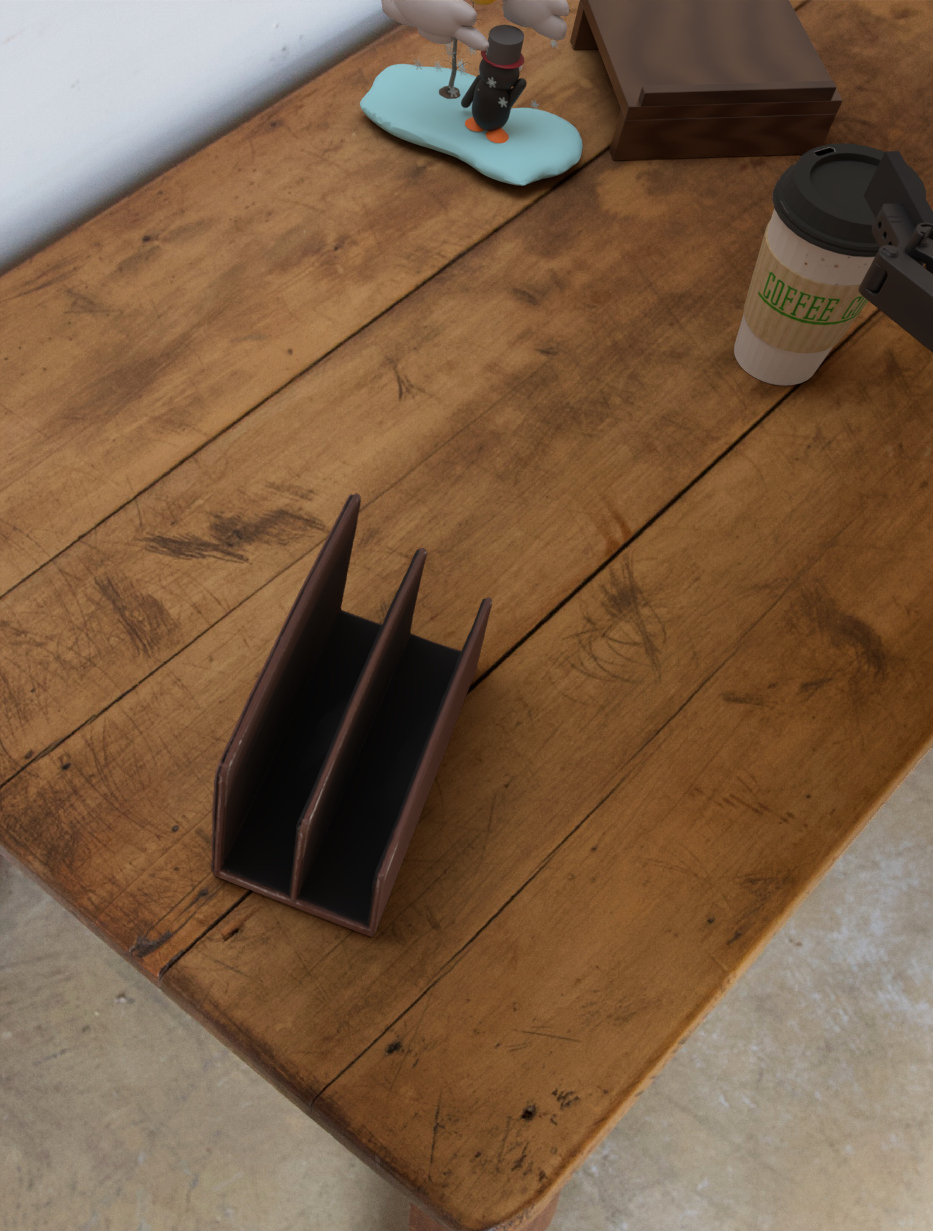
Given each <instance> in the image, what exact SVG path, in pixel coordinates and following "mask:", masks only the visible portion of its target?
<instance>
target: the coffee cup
mask: <svg viewBox="0 0 933 1231" xmlns="http://www.w3.org/2000/svg"><path fill="white" fill-rule="evenodd" d="M884 153H885V151H884V150H882V149H879V148H876V147H871V146H868V145H862V144H856V143H845V142H841V143H829V144H823V146H819V147H817V148H814V149H812V150H809V151H808V152H806V153H805V154H801V156H800V157H799V159H798V160H797V161H796V162H795V163H794V164H792V165H790V166H789V167H788V168H786V170H785V171H784V172H783V173H782V174H781V175H780V177H779V178H778V179H777V181H776V182H775V185H774V186H773V190H772V195H771V196H772V199H771V201H772V205H773V211H772V215H771V218H770V219H769V221H768V223H767V225H766V228H765V230H764V234H763V237H762V241H761V245H760V248H759V253H758V255H757V259H756V263H755V266H754V270H753V273H752V277H751V280H750V283H749V287H748V290H747V293H746V297H745V301H744V305H743V315H742V319H741V322H740V325H739V328H738V329H739V330H738V332H737V334H736V339H735V342H734V346H733V347H734V348H733V353H734V358H735V359H736V362H737V364H738V365H739V366H740V367H741V369H743V370H744V371H745V372H746V373H747V374H748V375H750V376H751V377H753V378H755V379H756V380H759V381H761V382H764V383H767V384H769V385H770V384H771V385H775V386H794V385H795V386H796V385H799V384H802V383H804V382H806V381H808V380H809V379H810V378H812V377H813V376H814V375H815V373H816V371H817V370H818V369H819V368H820V366H821V365H822V363H823V362H824V361H825V359H826V358H827V356H828V355H829V353H830V352H831V351H832V349H833V348H834V347H835V346H836V345H838V344H839V343H840V341H841V340H842V339H843V337H844V336H845V334H846V333H847V332H848V330H849V329H850V328H851V326H852V325H853V323H854V322H855V321H856V320H857V318H858V316H859V315H860V314H861V313H862V311H863V310H864V309H865V307H866V305H867V304H868V303H869V301H868V300H867V299H866V298H864V297H863V296H862V295H861V294H860V293H859V290H858V289H859V286H860V284H861V282H862V281H863V279H864V277H865V275H866V273H867V271H868V269H869V267H870V265H871V264H872V262H873V260H874V258H875V256H876V254H877V252H878V250H879V249H880V248H879V246H878V244H877V242H876V239H875V238H874V236H873V234H872V225H873V223H874V221H875V217H874V215H873V213H872V211H871V209H870V207H869V205H868V203H867V201H866V199H865V197H864V193H865V191H866V189H867V187H868V185H869V183H870V181H871V179H872V177H873V175H874V173H875V171H876V169H877V167H878V165H879V163H880V161H881V159H882V157H883V155H884ZM907 166H908V168H909V170H910V171H911V173H912V175H913V177H914V179H915V180H916V182H917V184H918V186H919V187H920V189H921V191H922V193H923V195H924V196H925V198H926V199H927V189H926V187H925V184H924V181H923V180H922V179H921V177H920V176H919V174H918V173H917V172H916V171H915V170H914V169H913V168H912V167H911V166H910V165H909V164H907Z"/></svg>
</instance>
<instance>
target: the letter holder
mask: <svg viewBox="0 0 933 1231" xmlns="http://www.w3.org/2000/svg"><path fill="white" fill-rule="evenodd" d="M361 499H362V497H361V495H360V494H359V493H357V492H355V493H354V494H351V493H350V494H349V495H348V496H347V498H346V500H345V502H344V504H343V505H342V508H341V510H340V511H339V514H338V516H337V517H336V519H335V522H334V523H333V525H332V527H331V530H329V533H328V534H327V537H326V539H325V540H324V542H323V545H322V547H321V549H320V550H319V552H318V553H317V556H316V558H315V560H314V562H313V564H312V566H311V568H310V570H309V572H308V574H307V575H306V577H305V579H304V582H303V584H302V585H301V587H300V589H299V591H298V592H297V595H296V598H295V599H294V602H293V603H292V605H291V608H290V610H289V612H288V614H287V616H286V618H285V620H284V622H283V624H282V626H281V628H280V631H279V633H278V635H277V637H276V639H275V641H274V643H273V645H272V647H271V649H270V651H269V653H268V656H267V657H266V659H265V662H264V663H263V667H262V669H261V670H260V672H259V675H258V677H257V679H256V681H255V682H254V685H253V687H252V689H251V691H250V693H249V694H248V698H247V699H246V701H245V703H244V706H243V708H242V711H241V713H240V715H239V717H238V719H237V722H236V724H235V726H234V728H233V731H232V733H231V735H230V737H229V739H228V741H227V743H226V745H225V747H224V750H223V752H222V754H221V757H220V759H219V761H218V764H217V766H216V770H215V773H214V777H213V793H212V808H211V825H212V826H211V863H210V871H211V873H212V874H213V877H215V878H218V879H222V880H225V881H227V882H229V883H232V884H234V885H236V886H239V887H241V888H244V889H247V890H250V891H252V892H254V893H257V894H259V895H263V896H265V897H267V898H270V899H272V900H274V901H276V902H277V901H278V902H280V903H281V904H282V903H283V904H285V905H287V906H289V907H293V908H296V909H297V910H299V911H302V912H305V913H307V914H309V915H313V916H314V917H318V918H321V919H323V920H326V921H327V922H330V923H333V924H336V925H338V926H340V927H344V928H347V929H349V930H352V931H353V932H357V933H359V934H362V935H365V936H368V937H371V938H373V937H374V936H375V935H376V933H377V931H378V928H379V927H378V926H379V924H380V922H381V920H382V916H383V913H384V911H385V909H386V905H387V903H388V901H389V898H390V896H391V894H392V890H393V888H394V885H395V883H396V880H397V878H398V875H399V873H400V870H401V867H402V865H403V862H404V859H405V857H406V854H407V852H408V849H409V846H410V844H411V842H412V838H413V837H414V833H415V831H416V828H417V826H418V824H419V821H420V818H421V814H422V812H423V811H424V810H423V809H424V806H425V804H426V802H427V799H428V797H429V794H430V791H431V789H432V787H433V785H434V781H435V780H436V777H437V774H438V771H439V768H440V766H441V763H442V760H443V758H444V756H445V753H446V749H447V747H448V744H449V743H450V740H451V737H452V735H453V732H454V729H455V726H456V725H457V721H458V719H459V716H460V714H461V711H462V709H463V708H462V707H463V706H464V703H465V700H466V698H467V695H468V693H469V689H470V687H471V684H472V682H473V681H474V676H475V675H476V672H477V671H478V664H479V660H480V656H481V653H482V649H483V645H484V640H485V635H486V631H487V627H488V622H489V620H490V614H491V610H492V607H493V600H492V597H490V596H488V597H486V598H483V599H481V602H480V604H479V608H478V610H477V613H476V617H475V618H474V621H473V624H472V626H471V628H470V631H469V632H468V634H467V637H466V640H465V642H464V644H463V646H462V649H461V650H460V649H456V648H454V647H450V646H447V645H444V644H441V643H438V642H435V641H432V640H430V639H427V638H424V637H422V636H419V635H417V634H414V633H412V631H411V630H412V625H413V620H414V615H415V609H416V604H417V601H418V595H419V590H420V586H421V583H422V582H421V581H422V578H423V577H422V576H423V572H424V568H425V564H426V560H427V556H428V551H427V549H426V548H425V547H420V548H419V549H417V550H416V551H415V553H413V554H414V555H413V556H412V559H411V561H410V564H409V566H408V567H407V570H406V572H405V574H404V576H403V578H402V580H401V583H400V585H399V587H398V589H397V591H396V593H395V595H394V597H393V599H392V600H391V603H390V605H389V607H388V610H387V612H386V614H385V617H384V620H383V621H382V623H379V622H375V621H373V620H370V619H368V618H364V617H362V616H359V615H356V614H355V613H351V612H349V611H346V610H343V609H342V605H343V601H344V596H345V590H346V585H347V580H348V573H349V568H350V563H351V556H352V552H353V547H354V543H355V542H354V541H355V538H356V532H357V526H358V522H359V513H360V510H361V505H362V504H361V503H362V501H361Z"/></svg>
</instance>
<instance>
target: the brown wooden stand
mask: <svg viewBox="0 0 933 1231" xmlns="http://www.w3.org/2000/svg"><path fill="white" fill-rule="evenodd" d="M569 40H570V44H571V46H572V49H573V50H574V51H575V50H576V51H577V50H579V51H580V50H598V51H599V54H600V57H601V59H602V62H603V64H604V68H605V70H606V72H607V75H608V78H609V81H610V84H611V86H612V89H613V92H614V94H615V96H616V100H617V102H618V104H619V105H618V106H619V107H620V111H619V114H618V118H617V121H616V124H615V129H614V132H613V136H612V139H611V143H610V146H609V152H610V155H611V158H612V160H613V161H637V160H638V161H639V160H640V161H641V160H643V161H644V160H668V159H669V160H670V159H673V160H674V159H697V158H699V159H700V158H730V157H731V158H733V157H760V156H762V157H763V156H789V155H790V156H793V155H803V154H805V153H806V152H808V151H809V150H812V149H814V148H817V147H819V146H824V143H825V141H826V139H827V137H828V134H829V132H830V130H831V127H832V125H833V123H834V120H835V118H836V116H837V114H838V112H839V110H840V109H841V108H840V107H841V105H842V104H843V98H842V97H841V95H840V92H839V90H838V88H837V84H836V83H835V81H834V80H833V79H832V78H831V76H830V74H829V72H828V70H827V68H826V66H825V64H824V63H823V60H822V59H821V57H820V55H819V53H818V52H817V49H816V48H815V45H814V44H813V42H812V40H811V38H810V37H809V35H808V33H807V31H806V29H805V27H804V25H803V23H802V21H801V20H800V18H799V16H798V14H797V12H796V11H795V8H794V7H793V4H792V3H791V1H790V0H579V1H578V6H577V10H576V13H575V19H574V22H573V26H572V31H571V35H570V39H569Z"/></svg>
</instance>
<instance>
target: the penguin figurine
mask: <svg viewBox="0 0 933 1231" xmlns="http://www.w3.org/2000/svg"><path fill="white" fill-rule="evenodd" d="M380 1H381V2H380V3H381V9H382V13H384V14H385V15H386V16H387V17H388V18H389V19H391V20H393V21H395V22H396V23H399V24H401V25H403V26H407V27H415V28H417V34H418V35H419V36H420V37H422V38H424V39H426V40H427V41H429V42H430V43H434V44H438V45H443V46H444V47H445V46H446V47H445V50H446V51H444V54H446V55H447V56H449V57H447V58H448V60H449V59H450V57H451V61H448V60H446V59H443V61H444V62H448V63H450V64H451V68H450V67H449V68H448V67H444V66H443V65H441V64H440V61H437V62H434V63H433V64H434V66H423V64H422V63H420V58H417V60H416V59H415V58H413V62H414V63H413V64H409V63H397V64H392V65H389V66H387V67H386V68H384V69H383V70H382V71H381V72H379V74H378V75H376V77H375V79H374V80H373V83H372V85H371V88H370V89H369V90H368V91H367V93H365V94H364V96H363V97H362V98H361V100H360V101H359V106H360V109H361V111H362V112H363V114H364V115H365V116H366V117H367V118H368V119H369V120H370V121H372V122H373V123H374V124H376V125H377V126H378V127H379V128H381V129H383V131H385V132H387V133H388V134H390V135H392V136H394V137H397V138H399V139H401V140H402V141H406V142H408V143H411V144H414V145H417V146H420V147H424V148H427V149H431V150H432V151H433V150H434V151H436V152H439V153H442V154H445V155H448V156H452V157H454V158H456V159H458V160H459V161H462V162H464V163H466V164H467V165H469V166H470V167H472V168H473V169H474V170H475V171H477V172H479V173H480V174H482V175H483V176H485V177H488V178H490V179H492V180H495V181H498V182H500V183H505V184H507V185H513V186H520V187H524V186H526V185H529V184H530V185H531V184H532V183H534V182H537V181H541V180H544V179H550V178H554V177H558V176H560V175H562V174H564V173H566V172H568V171H569V170H570V169H571V168H572V167H574V166H575V165H576V164H577V163H578V162H579V161H580V160H581V159H580V158H582V156H583V154H582V152H583V149H584V146H583V139H582V137H581V134H580V132H579V131H578V129H577V128H576V127H575V126H574V125H573V124H572V123H571V122H569V121H568V120H567V119H564V118H563V117H561V116H559V115H557V114H554V113H552V112H549V111H547V110H543V109H539V108H538V106H540V104H537V103H536V102H537V99H535V100H534V101H533V100H531V99H530V102H531V103H530V105H529V106H532V107H513V106H514V105H515V104H516V102H517V101H518V99H519V97H520V96H523V92H524V91H525V89H526V87H527V85H528V82H527V80H526V79H525V78H523V77H520V72H521V71H522V69H523V65H524V63H525V57H524V55H523V53H522V50H523V45H524V41H525V40H524V39H525V32H524V31H522V29H520V28H519V27H522V28H531V29H532V30H534V31H535V32H536V33H537V34H539V35H541V36H543V37H544V38H545V37H546V38H548V39H549V40H550V44H551V49H554V48H557V45H559V44H560V43H559V42H558V41H562V40H564V39H565V38H566V35H567V32H568V24H567V22H566V20H564V18H563V17H568V16H569V14H570V6H569V5H570V4H569V3H568V1H567V0H501V1H502V12H503V17H504V19H505V20H506V21H508V22H510V23H512V24H514V25H516V26H514V25H510V24H498V25H496V26H492V27H491V29H489V32H488V36H487V37H488V38H487V37H486V36H485V35H484V34H483V33H482V32H481V31H480V30H479V29H477V28H476V27H475V26H474V25H476V22H477V23H479V21H482V20H483V18H481V19H480V18H479V19H478V18H477V17H478V15H479V14H480V13H479V14H478V11H479V9H475V4H476V5H479V6H488V5H492V4H493V3H495V2H496V1H497V0H470V1H471V4H472V5H471V4H470V3H468V2H467V1H465V0H380ZM478 20H479V21H478ZM517 26H519V27H517ZM458 42H460V43H462V44H464V45H465V46H467V47H468V48H467V49H466V51H469V50H470V54H469V55H470V57H472V55H474V56H477V53H476V51H480V57H481V60H480V62H479V67H478V75H477V76H476V75H473V74H471V73H468V72H467V69H466V68H465V66H466V63H468V64H469V65H471V63H470V62H469V61H465V60H463V59H460V60H457V56H459V55H460V54H459V53H461V51H460V52H457V50H458ZM464 61H465V62H464Z"/></svg>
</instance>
